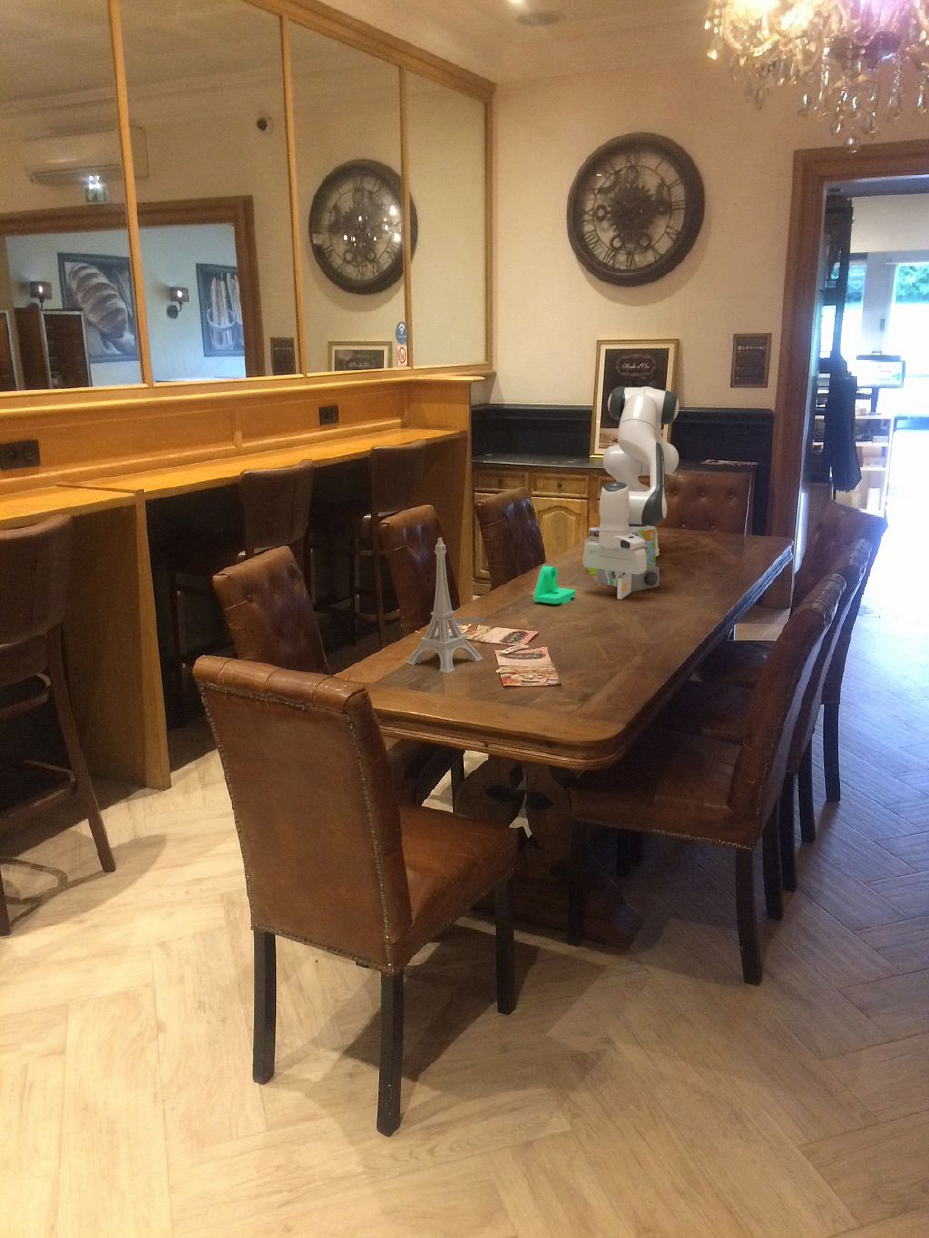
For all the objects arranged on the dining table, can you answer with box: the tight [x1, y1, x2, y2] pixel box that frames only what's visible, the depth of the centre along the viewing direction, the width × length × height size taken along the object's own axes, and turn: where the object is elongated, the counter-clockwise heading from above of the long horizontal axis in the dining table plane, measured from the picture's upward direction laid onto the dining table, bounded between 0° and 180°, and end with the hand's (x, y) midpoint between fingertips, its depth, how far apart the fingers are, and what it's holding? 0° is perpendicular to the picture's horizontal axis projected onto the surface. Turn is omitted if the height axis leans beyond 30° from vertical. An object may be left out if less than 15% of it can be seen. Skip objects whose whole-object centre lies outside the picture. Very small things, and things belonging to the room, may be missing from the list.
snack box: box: [588, 526, 657, 576], centre depth 321 cm, size 21×6×15 cm, turn 84°
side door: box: [616, 573, 632, 600], centre depth 292 cm, size 10×2×6 cm, turn 153°
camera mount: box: [532, 565, 576, 605], centre depth 288 cm, size 12×8×10 cm, turn 145°
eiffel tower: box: [404, 537, 485, 674], centre depth 233 cm, size 13×13×30 cm
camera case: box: [596, 564, 660, 593], centre depth 306 cm, size 17×11×7 cm, turn 33°
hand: (613, 585), depth 292 cm, fingers closed
